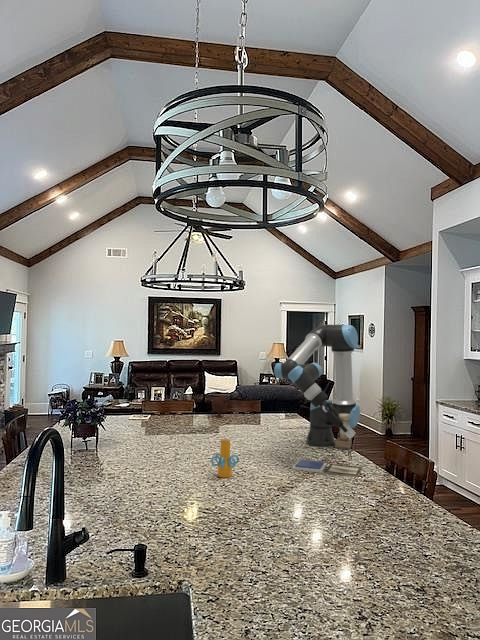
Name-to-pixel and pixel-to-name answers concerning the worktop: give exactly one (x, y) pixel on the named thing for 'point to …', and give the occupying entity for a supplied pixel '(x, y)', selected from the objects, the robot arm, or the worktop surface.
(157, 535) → the worktop surface
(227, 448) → the orange post with loops
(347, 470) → the marked board
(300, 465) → the ink pad
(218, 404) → the ice cream bowl
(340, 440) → the stamp
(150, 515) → the worktop surface
